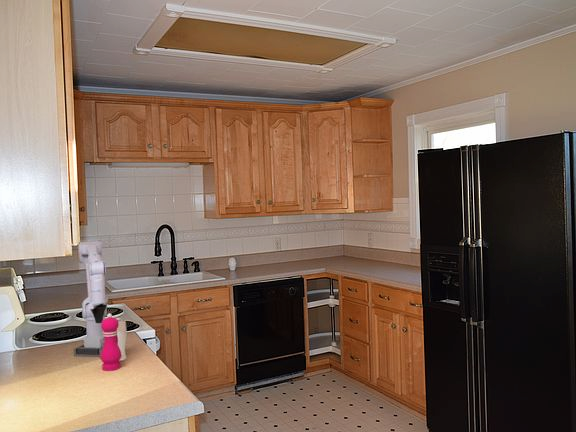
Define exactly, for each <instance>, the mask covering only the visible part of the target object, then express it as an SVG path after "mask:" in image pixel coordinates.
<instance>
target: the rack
mask: <svg viewBox="0 0 576 432" xmlns="http://www.w3.org/2000/svg"><path fill="white" fill-rule="evenodd" d="M102 349H103V348H89V347H84V343H83V344H80V345H78V346H77V347H74V348H73V356H74V357H84V358H85V357H89V358H100V356H101V352H102Z"/></svg>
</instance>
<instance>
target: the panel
mask: <svg viewBox="0 0 576 432" xmlns="http://www.w3.org/2000/svg"><path fill="white" fill-rule="evenodd" d="M83 339H84V340H83V344H84V347H89V348H103V346H104V338H103V337H87V336H86V337H83Z"/></svg>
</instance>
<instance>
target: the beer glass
mask: <svg viewBox="0 0 576 432" xmlns="http://www.w3.org/2000/svg"><path fill="white" fill-rule="evenodd" d="M116 319H117V320H118V323H119V325H118V328H117V329H116V330H117V335H116V340H117V344H118V346H119V348H120V351H121V355H122V356H121V359H120V360H119V362H122V361H125V360H126V359H127V355H126V342H127V322H126V319H125V318H116Z"/></svg>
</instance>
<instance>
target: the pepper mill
mask: <svg viewBox="0 0 576 432" xmlns="http://www.w3.org/2000/svg"><path fill="white" fill-rule="evenodd" d="M105 318H106V319H104V320H103V321H102V323H101V328H102V330H103V331H104V332H103V336H104V338H103V343H104V346H103V349H102V352H101V356H100V357H99V358H100V360H101V362H102V365H101V368H102V371H105V372H111V371H117V370H119V369H120V368H121V361H119V360H120V359H121V356H122V355H121V351H120V348H119V346H118V344H117V340H116V335H117V330H116V329H117V328H118V325H119V323H118V320H117V319H118V318H115V317H113V314H112V313H111V312H110V313H107V315H106V317H105Z"/></svg>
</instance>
